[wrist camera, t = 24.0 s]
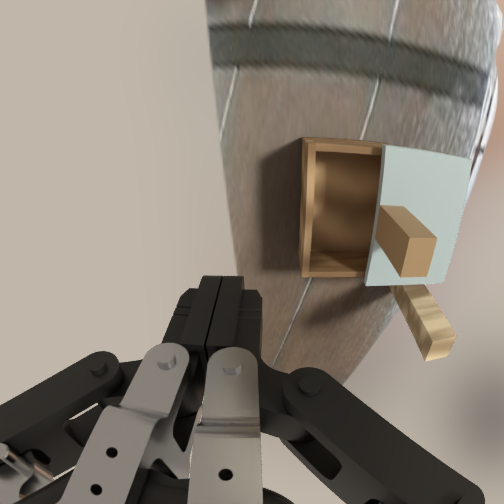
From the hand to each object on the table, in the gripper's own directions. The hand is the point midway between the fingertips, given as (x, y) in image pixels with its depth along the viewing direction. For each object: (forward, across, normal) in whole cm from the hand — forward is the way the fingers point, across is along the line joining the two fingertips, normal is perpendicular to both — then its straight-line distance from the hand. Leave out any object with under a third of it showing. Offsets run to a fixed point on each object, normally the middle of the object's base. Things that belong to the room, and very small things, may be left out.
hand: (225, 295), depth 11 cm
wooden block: (+27, -22, +17) cm, 39 cm away
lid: (+21, -20, +5) cm, 29 cm away
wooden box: (+27, -15, +5) cm, 31 cm away
